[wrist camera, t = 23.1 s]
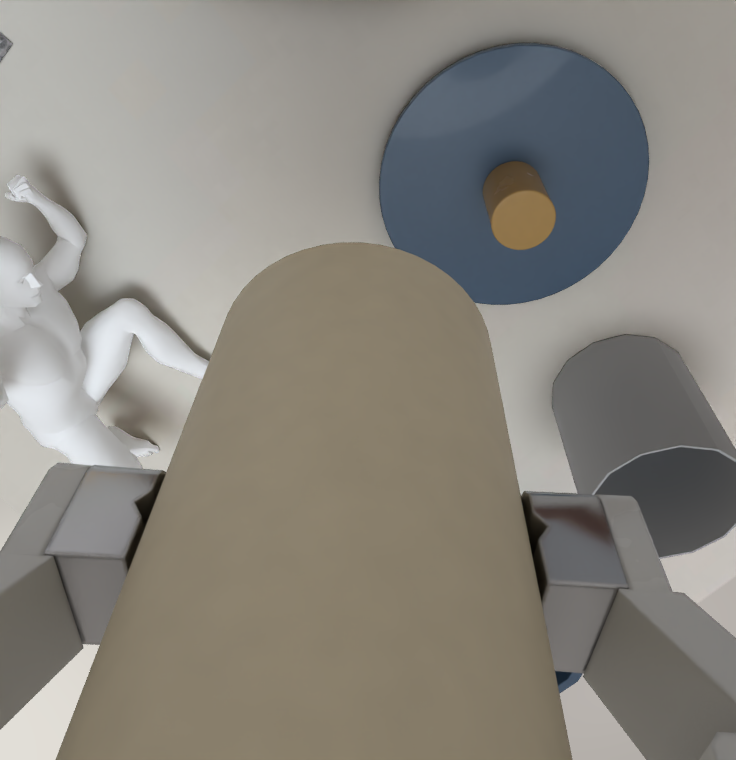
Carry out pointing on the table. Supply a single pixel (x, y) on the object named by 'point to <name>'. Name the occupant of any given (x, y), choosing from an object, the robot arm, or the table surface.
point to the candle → (334, 542)
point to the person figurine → (71, 346)
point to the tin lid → (515, 171)
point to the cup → (648, 440)
